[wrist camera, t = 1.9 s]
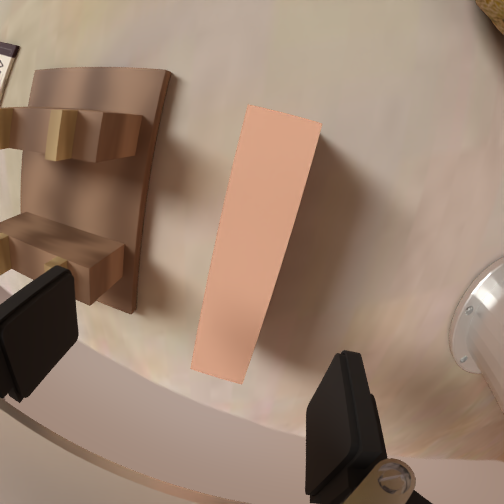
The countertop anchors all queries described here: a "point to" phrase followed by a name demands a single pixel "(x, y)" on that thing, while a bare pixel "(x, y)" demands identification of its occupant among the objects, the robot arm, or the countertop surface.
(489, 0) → the cantaloupe
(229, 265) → the salmon pink rectangular block
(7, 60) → the chocolate bar
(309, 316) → the countertop surface
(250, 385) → the countertop surface
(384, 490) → the robot arm
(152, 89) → the brown cradle stand
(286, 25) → the countertop surface
